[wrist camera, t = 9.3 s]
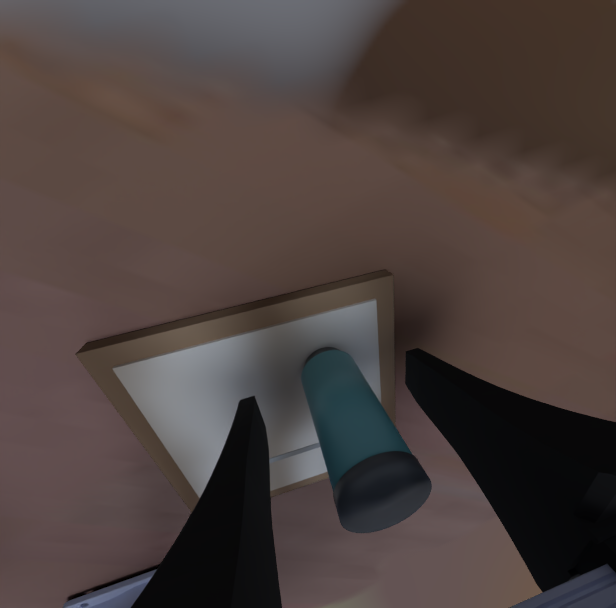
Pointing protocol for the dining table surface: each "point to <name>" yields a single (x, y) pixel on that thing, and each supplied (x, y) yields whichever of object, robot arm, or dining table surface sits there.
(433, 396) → the robot arm
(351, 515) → the marker
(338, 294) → the writing board
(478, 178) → the dining table surface
